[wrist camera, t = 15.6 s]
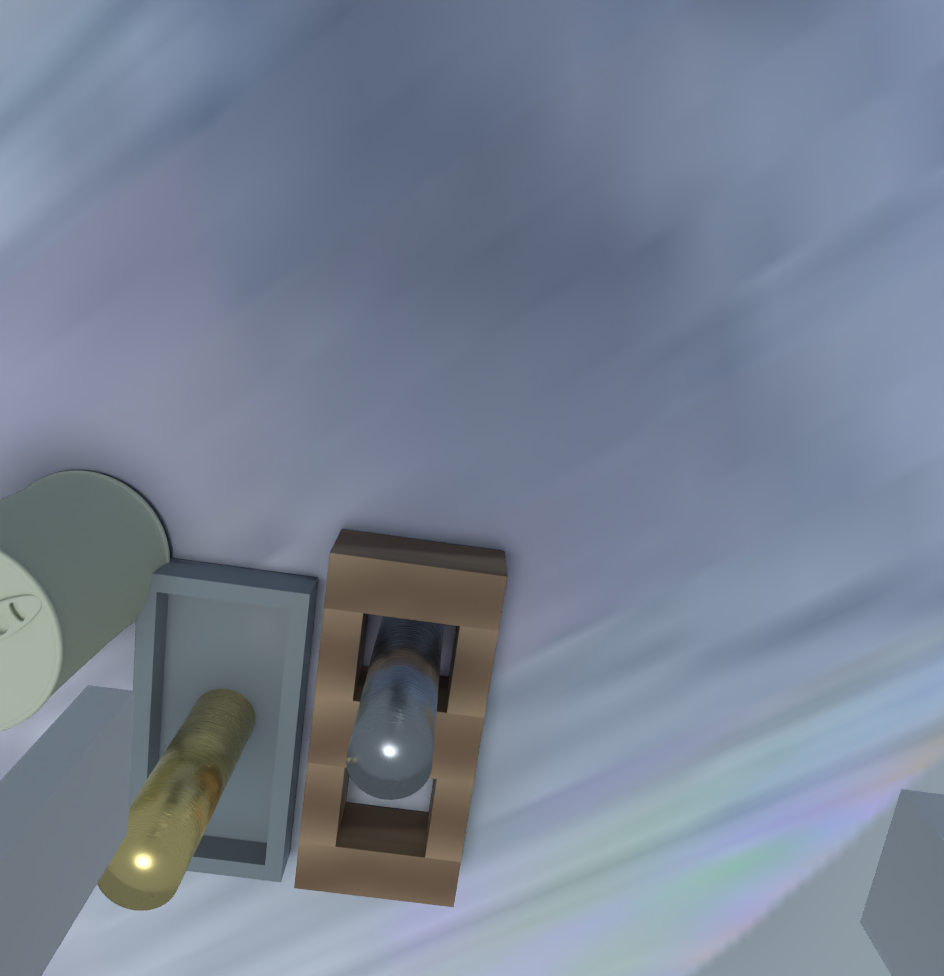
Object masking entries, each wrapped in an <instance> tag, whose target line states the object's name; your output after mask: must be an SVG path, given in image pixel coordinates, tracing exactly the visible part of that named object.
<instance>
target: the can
mask: <svg viewBox="0 0 944 976" xmlns="http://www.w3.org/2000/svg"><path fill="white" fill-rule="evenodd" d="M169 562H170V552H169V545H168V541H167V537H166V534H165V531H164V529H163V526H162V524H161V522H160V520H159V519H158V517H157V515H156V514H155V512H154V511H153V510H152V508H151V507H150V506H149V504H148V503H147V502H146V501H145V500H144V499H143V498H142V497H141V496H140V495H139V494H138V493H136V492H135V491H134V490H133V489H131V488H130V487H128V486H127V485H125V484H124V483H122V482H120V481H118V480H116V479H114V478H112V477H109V476H106V475H103V474H100V473H96V472H91V471H82V470H73V471H63V472H58V473H54V474H51V475H48V476H46V477H43V478H41V479H39V480H38V481H36V482H34V483H33V484H31V485H30V486H29V487H27V488H26V489H24V490H22V491H19V492H17V493H15V494H13V495H10V496H8V497H6V498H3V499H1V500H0V731H3V730H6V729H9V728H12V727H14V726H16V725H18V724H20V723H21V722H23V721H25V720H27V719H28V718H29V717H31V716H32V715H33V714H35V713H36V712H37V711H38V710H39V709H40V708H41V707H42V706H43V705H44V704H45V703H46V701H47V700H48V698H49V697H50V696H51V695H52V694H54V693H55V692H56V691H57V690H58V689H59V688H60V687H61V686H62V685H63V684H64V683H65V682H66V681H67V680H68V679H69V678H71V677H72V676H73V675H74V674H75V673H76V672H77V671H78V670H79V669H80V668H81V667H82V666H84V665H85V664H86V663H87V662H88V661H89V660H90V659H91V658H92V657H93V656H94V655H96V654H97V653H98V652H99V651H100V650H101V649H102V648H103V647H105V646H106V645H107V644H108V643H109V642H110V641H111V640H112V639H113V638H115V637H116V636H117V635H118V634H119V633H120V632H121V631H123V630H124V629H125V628H126V627H127V626H128V625H130V624H132V623H134V622H135V621H136V617H137V616H138V615H139V613H140V612H141V610H142V609H143V607H144V605H145V603H146V601H147V598H148V595H149V592H150V587H151V582H152V573H153V572H155V571H156V570H157V569H159V568H160V567H161V566H163V565H164V564H166V563H169Z"/></svg>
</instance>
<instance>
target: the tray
mask: <svg viewBox="0 0 944 976" xmlns="http://www.w3.org/2000/svg"><path fill="white" fill-rule="evenodd" d="M317 585H318V578H317V577H310V576H302V575H295V574H287V573H280V572H272V571H265V570H257V569H250V568H242V567H235V566H227V565H220V564H212V563H205V562H197V561H190V560H182V559H175V558H170V562H169V563H166V564H164V565H163V566H161V567H160V568H159V569H157V570H156V571H155V572H153V573H152V582H151V587H150V592H149V595H148V598H147V601H146V603H145V605H144V607H143V609H142V610H141V612H140V613H139V615H138V616H137V617H136V634H135V656H134V677H133V691H134V712H133V733H132V754H131V776H130V797H129V807H130V805H131V804H132V802H133V801H134V799H135V798H136V796H137V794H138V793H139V791H140V790H141V788H142V787H143V785H144V783H145V782H146V780H147V779H148V777H149V776H150V774H151V772H152V771H153V769H154V768H155V766H156V765H157V763H158V761H159V760H160V758H161V757H162V755H163V754H164V752H165V750H166V749H167V747H168V746H169V744H170V743H171V741H172V739H173V738H174V736H175V735H176V733H177V732H178V730H179V728H180V727H181V725H182V724H183V722H184V721H185V719H186V717H187V716H188V714H189V713H190V711H191V710H192V708H193V706H194V705H195V703H196V702H197V700H198V699H199V698H200V697H201V696H202V695H203V694H205V693H207V692H209V691H211V690H215V689H229V690H232V691H235V692H238V693H239V694H241V695H243V696H244V697H245V698H246V699H247V700H248V701H249V702H250V703H251V705H252V707H253V709H254V712H255V717H256V720H255V726H254V729H253V731H252V733H251V735H250V737H249V740H248V742H247V744H246V746H245V748H244V750H243V752H242V754H241V756H240V758H239V761H238V763H237V765H236V767H235V769H234V771H233V773H232V775H231V777H230V779H229V782H228V784H227V786H226V788H225V790H224V792H223V794H222V796H221V798H220V800H219V803H218V805H217V807H216V809H215V811H214V813H213V815H212V817H211V819H210V821H209V824H208V826H207V828H206V830H205V832H204V834H203V836H202V838H201V840H200V843H199V845H198V847H197V849H196V851H195V853H194V855H193V857H192V859H191V861H190V864H189V866H188V868H187V870H186V871H193V872H202V873H210V874H218V875H227V876H235V877H243V878H251V879H260V880H268V881H276V882H281V880H282V877H283V873H284V870H285V867H286V864H287V860H288V857H289V854H290V846H291V836H292V827H293V817H294V807H295V798H296V788H297V778H298V769H299V759H300V749H301V740H302V730H303V720H304V711H305V701H306V691H307V682H308V672H309V662H310V653H311V643H312V633H313V624H314V614H315V604H316V595H317Z"/></svg>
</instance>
